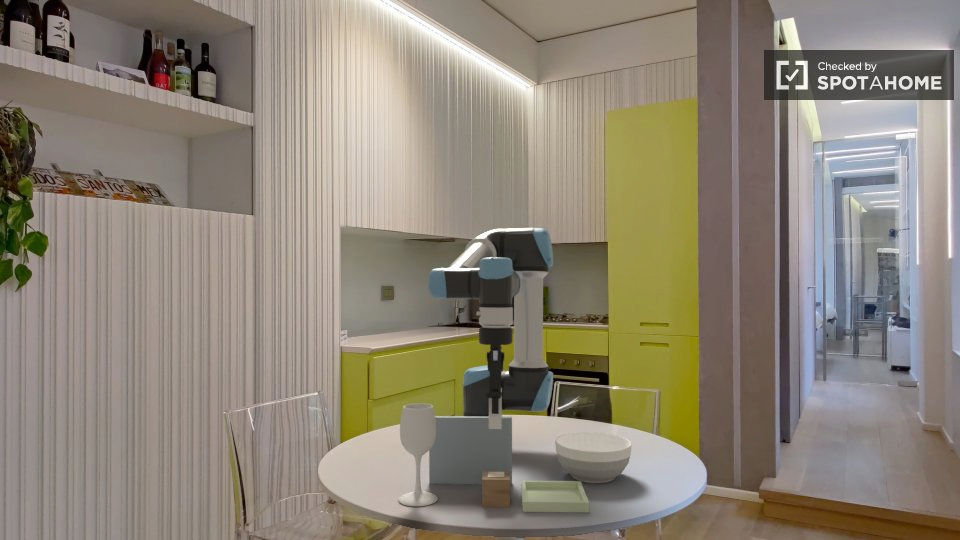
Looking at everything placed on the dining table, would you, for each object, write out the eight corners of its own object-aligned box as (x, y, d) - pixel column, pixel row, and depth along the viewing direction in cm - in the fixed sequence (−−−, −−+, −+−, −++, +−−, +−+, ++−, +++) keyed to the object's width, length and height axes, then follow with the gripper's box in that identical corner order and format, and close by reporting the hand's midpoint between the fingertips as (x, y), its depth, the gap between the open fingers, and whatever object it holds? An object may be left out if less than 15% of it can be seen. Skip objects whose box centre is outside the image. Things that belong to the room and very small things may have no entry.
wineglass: (399, 493, 144) (399, 402, 144) (437, 492, 145) (437, 401, 145) (397, 507, 135) (397, 410, 136) (437, 506, 136) (437, 409, 136)
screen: (429, 483, 151) (429, 417, 151) (430, 481, 152) (429, 416, 153) (512, 484, 150) (511, 417, 150) (512, 482, 152) (511, 416, 152)
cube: (482, 497, 142) (482, 470, 142) (509, 497, 142) (509, 470, 142) (482, 507, 136) (482, 478, 136) (509, 507, 136) (509, 478, 136)
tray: (520, 489, 147) (520, 480, 147) (580, 490, 146) (580, 481, 146) (522, 511, 133) (522, 501, 133) (588, 512, 132) (588, 502, 132)
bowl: (585, 493, 144) (585, 455, 144) (540, 471, 161) (540, 437, 161) (648, 481, 153) (647, 445, 153) (599, 461, 169) (599, 429, 170)
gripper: (480, 323, 152) (480, 410, 152) (476, 329, 128) (476, 434, 127) (511, 323, 152) (511, 411, 152) (513, 330, 127) (513, 435, 127)
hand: (495, 422), depth 139 cm, fingers open, 13 cm apart
